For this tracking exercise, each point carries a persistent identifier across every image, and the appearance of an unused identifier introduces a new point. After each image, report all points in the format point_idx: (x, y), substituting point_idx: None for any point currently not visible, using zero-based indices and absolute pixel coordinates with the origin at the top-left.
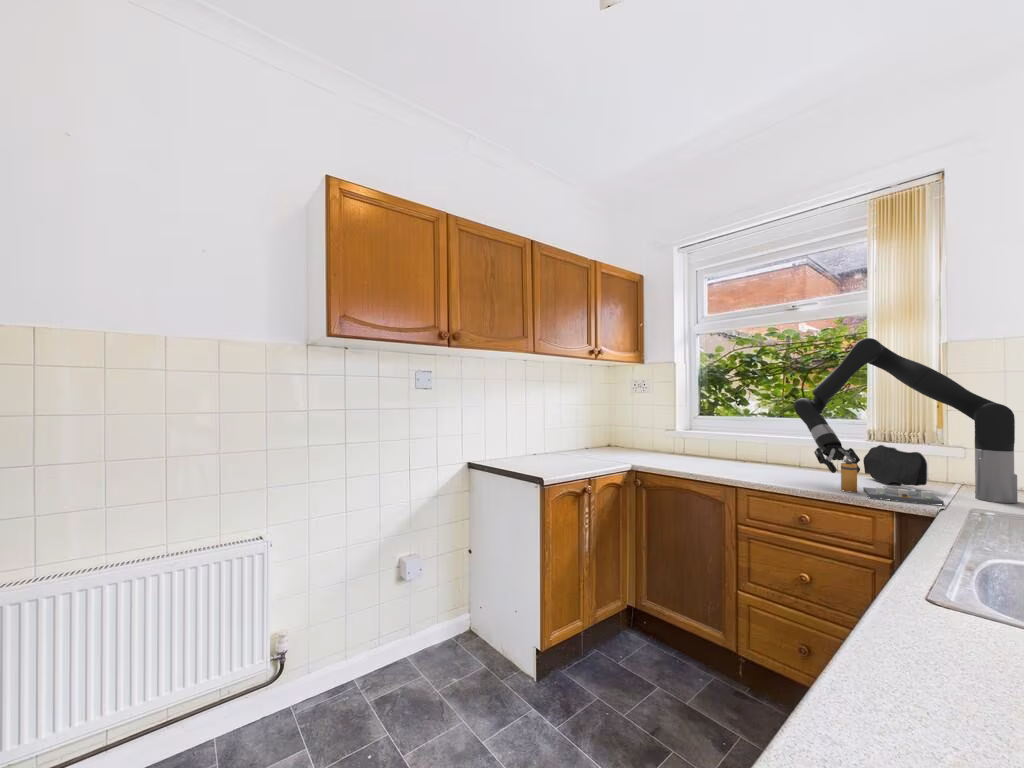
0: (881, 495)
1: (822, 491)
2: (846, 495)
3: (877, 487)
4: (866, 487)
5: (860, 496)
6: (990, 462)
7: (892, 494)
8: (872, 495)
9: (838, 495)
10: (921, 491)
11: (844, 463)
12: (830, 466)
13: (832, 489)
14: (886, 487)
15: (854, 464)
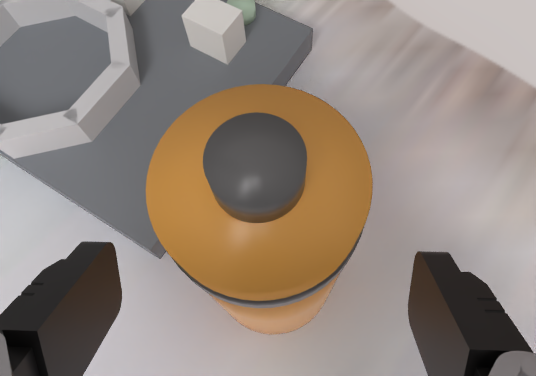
0: (256, 5)
1: (529, 246)
2: (412, 119)
3: (229, 18)
4: (133, 237)
5: (329, 95)
6: None
7: (162, 21)
8: (298, 27)
9: (474, 117)
10: None
11: (299, 225)
12: (500, 305)
13: (386, 333)
14: (107, 73)
15: (206, 130)
